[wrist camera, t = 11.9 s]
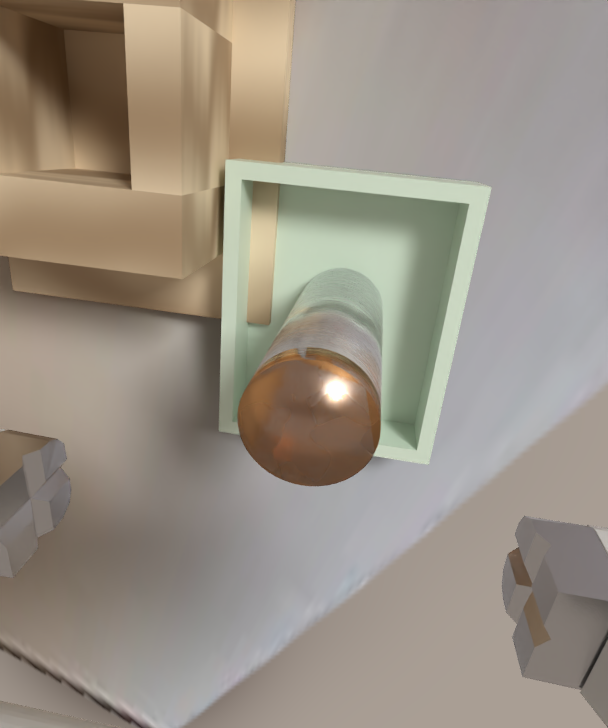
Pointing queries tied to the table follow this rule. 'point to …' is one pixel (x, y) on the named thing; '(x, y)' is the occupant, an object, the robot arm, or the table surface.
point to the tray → (369, 257)
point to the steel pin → (319, 385)
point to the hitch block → (139, 146)
